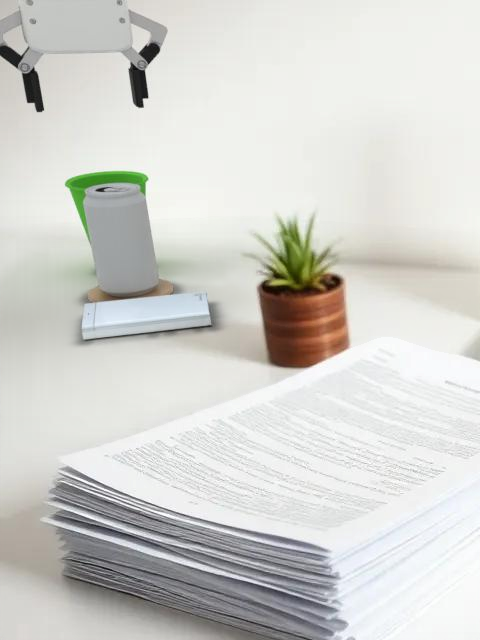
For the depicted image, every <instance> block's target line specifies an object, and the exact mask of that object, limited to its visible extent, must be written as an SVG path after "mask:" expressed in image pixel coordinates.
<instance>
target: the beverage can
mask: <svg viewBox="0 0 480 640" xmlns="http://www.w3.org/2000/svg"><path fill="white" fill-rule="evenodd" d="M140 190H141V188H140V186H139V185H137V184H132V183H108V184H101V185H96V186H92V187H89V188H87V189H85V194H86V197H85V199H84V201H83V206H84V211H85V216H86V222H87V227H88V232H89V238H90V243H91V245H90V248H91V253H92V259H93V263H94V269H95V274H96V281H97V286H99V288H100V289H101V290H102V291H104V292H106V293H107V294H108V295H111V296H116V297H130V296H138V295H142V294H146V293H149V292H151V291H152V290H153V289H154V287H155V286H156V285H157V284H158V283H159V279H160V276H159V271H158V264H157V258H156V251H155V245H154V240H153V233H152V228H151V227H152V226H151V221H150V216H149V215H150V214H149V209H148V202H147V196H146V197H145V196H144V195H143V194H142V193H141V191H140ZM90 243H89V244H90Z"/></svg>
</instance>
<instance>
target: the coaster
mask: <svg viewBox="0 0 480 640" xmlns="http://www.w3.org/2000/svg"><path fill="white" fill-rule="evenodd" d="M173 292H174V285H173V283H172V282H170V281H169V280H166V279H162V278H159V283H158V284H157V285H156V286H155V287H154V289H153V290H152V291H151V292H149V293H146V294H142V295H138V296H130V297H116V296H111V295H108V294H107V293H106V292H104V291H102V290H101V289H100V288H99V286H98V285H97V286H95V287H93V288H91V289H90V290H89V291H88V292H87V299H88V301H89V302H90V303H96V302H105V301H114V300H124V299H134V298H144V297H153V296H163V295H172V293H173Z"/></svg>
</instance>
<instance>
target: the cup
mask: <svg viewBox="0 0 480 640" xmlns="http://www.w3.org/2000/svg"><path fill="white" fill-rule="evenodd" d="M148 181H149V176H148V175H147V174H145V173H142V172H139V171H133V170H132V171H131V170H108V171H98V172H90V173H89V172H88V173H84V174H79V175H76V176H75V175H74V176H72V177H70V178H68V179H66V181H65V182H64V187H66V188H67V189H69V192H70V194H71V197H72V200H73V202H74V205H75V207H76V210H77V213H78V216H79V219H80V221H81V223H82V226H83V229H84V232H85V233H86V237H87V241H88V243H89V245H90V246H91V243H90V238H89V232H88V227H87V222H86V216H85V211H84V206H83V201H84V199H85V197H86V194H85V189H87V188H89V187H92V186H96V185H101V184H108V183H132V184H137V185H139V186H140V188H141V190H140V191H141V193H142V194H143V195H144V196H145V197H146V198H147V195H146V194H147V193H146V192H147V190H146V189H147V188H146V187H147V186H146V185H147V182H148Z"/></svg>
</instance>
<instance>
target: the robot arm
mask: <svg viewBox="0 0 480 640" xmlns="http://www.w3.org/2000/svg"><path fill="white" fill-rule="evenodd" d="M17 3H18V5H17V6H18V9H16V10H13V11H12V12H10V13H8V14H7V15H5V16H3V17H1V18H0V57H1V58H2V59H4V60H5V61H6V62H8V63H9V64H10V65H12V67H14V68H16V69H17V70H18V71H19V72H20V73H21V78H22V82H23V88H24V94H25V100H26V103H27V104H34V108H35V111H36V113H43V112H45V106H44V100H43V95H42V89H41V83H40V77H39V73H38V71H37V70H36V69H35V66H36V65H37V64H38V62H39V61H40V59H41V58H42V56H43V55H45V54H47V55H73V54H77V55H78V54H114V53H121V54H122V55H123V56H124V57H125V58H126V59H127V60H128V61H129V64H130V66H129V67H128V77H129V84H130V85H129V86H130V90H131V98H132V103H133V105H134V106H135V107H136V108H138V109H143V108H145V104H144V100H145V99H146V100H147V99H149V89H148V83H147V82H148V81H147V74H146V70H147V69H148V67H149V65H150V64H151V63H152V62H153V61H154V59H155V58H156V57H157V56H158V55H159V54H160V52H161V49H162V46H163V44H164V43H165V42H164V41H165V39H166V37H167V34H168V28H167V27H166V26H165V25H164V24H162V23H159V22H158V21H155V20H153V19H151V18H149V17H147V16H145V15H142V14H140V13H138V12H136V11H134V10H131V9H129V7H128V2H127V0H17ZM132 25H134V26H136V27H138V28H140V29H143V30H146V31H147V32H148V33H149V38H148V40H147V43H146V44H145V45H144V46H143V48H141V49H140V51H139V52H138V51H137V50H136V49H135V48H133V43H134V42H133V39H134V38H133V30H132ZM19 26H21V30H22V35H23V39H24V42H25V43H26V44H27V47H26V48H25V50H23V52H22V53H21V54H20V53H19V52H17V51H16V50H15V49H13V48H12V47H11V46H10V45H8V43H7V42H6V40H5V39H4V34H5V33H7V32H10V31H11V30H13V29H15V28H17V27H19Z"/></svg>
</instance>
